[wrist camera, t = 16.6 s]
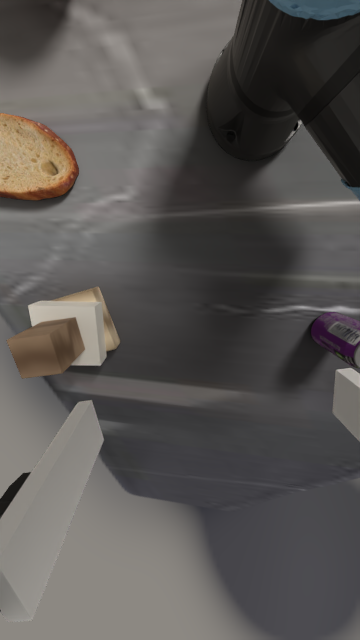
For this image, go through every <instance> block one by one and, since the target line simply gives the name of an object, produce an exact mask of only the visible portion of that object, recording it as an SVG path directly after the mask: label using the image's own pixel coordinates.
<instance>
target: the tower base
mask: <svg viewBox="0 0 360 640" xmlns="http://www.w3.org/2000/svg"><path fill="white" fill-rule="evenodd" d="M51 301H77V302H102V311H103V322H104V333H105V344H106V351H110V350H113V349H116V348H117V347H118V345H119V343H120V339H119V337H118V334H117V332H116V329H115V327H114V324H113V322H112V319H111V317H110V314H109V312H108V309H107V307H106V304H105V302H104V299H103V297H102V294H101V292H100V289H99V287H95V288H92V289H88V290H85V291H82V292H78V293H75V294H72V295H68V296H65V297H62V298H58V299H55V300H51Z"/></svg>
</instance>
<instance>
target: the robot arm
mask: <svg viewBox="0 0 360 640" xmlns="http://www.w3.org/2000/svg"><path fill="white" fill-rule="evenodd" d="M207 117H208V122H209V126H210V129H211V131H212V134H213V136H214V137H215V139H216V141H217V142H218V144H219V145H220V146H221V147H222V148H223V149H224V150H225V151H226V152H227V153H229V154H230V155H232V156H234V157H236V158H239V159H243V160H259V159H263V158H266V157H268V156H271V155H272V154H274V153H276V152H277V151H278V150H280V149H281V148H282V147H283V146H284V145H285V144H286V143H287V142H288V141H289V140H290V139H291V138H292V137H293V136H294V135H295V133H296V132H297V131H298V129H299V127H300V126H301V124H302V123H303V124H304V126H305V128H306V129H307V131H308V132H309V133H310V135H311V136H312V138H313V139H314V140H315V142H316V143H317V145H318V146H319V147H320V149H321V150H322V152H323V153H324V154H325V156H326V157H327V159H328V160H329V161H330V163H331V164H332V165H333V167H334V168H335V170H336V171H337V172H338V174H339V175H340V177H341V178H342V179H341V181H342V183H343V185H344V186H345V187H347V188H349V189H350V190H351V191H352V192H353V193H354V194H355V196H356V197H357V198H358V199H359V200H360V0H242V4H241V8H240V12H239V16H238V20H237V24H236V29H235V33H234V36H233V37H232V39H231V40H230V41H229V42H228V43H227V45H226V46H225V47H224V49H223V50H222V52H221V53H220V55H219V57H218V59H217V61H216V63H215V65H214V68H213V71H212V74H211V78H210V82H209V87H208V93H207ZM333 414H334V415H335V416H336V417H337V418H338V419H339V420H340V421H341V422H342V423H343V425H344V426H345V427H346V428H347V429H348V430H349V431H350V432H351V433H352V434H353V435H354V436H355V437H356V438H357V439H358V440H359V441H360V374H359V373H358V372H356V371H355V370H353V369H352V368H346V369H338V370H336V375H335V388H334V401H333ZM103 441H104V438H103V435H102V432H101V428H100V425H99V422H98V419H97V415H96V412H95V409H94V406H93V403H92V400H89V401H81V402H78V403H77V404H76V406H75V407H74V409H73V410H72V412H71V413H70V415H69V416H68V418H67V419H66V421H65V423H64V424H63V425H62V427H61V428H60V430H59V431H58V433H57V434H56V436H55V438H54V439H53V441H52V442H51V443H50V445H49V446H48V448H47V450H46V451H45V452H44V454H43V456H42V457H41V459H40V460H39V461H38V463H37V465H36V466H35V467H34V469H33V470H32V472H29V473H23V474H22V475H21V476H20V477H19V478H18V479H17V480H16V481H15V482H14V483H12V484H11V485H10V486H9V488H8V489H7V491H6V492H5V493H4V495H3V496H2V498H1V499H0V612H1V613H2V615H3V616H4V617H5V619H6V620H7V622H18V621H30V620H32V619H33V617H34V615H35V612H36V610H37V607H38V605H39V602H40V600H41V597H42V595H43V592H44V589H45V587H46V584H47V582H48V580H49V577H50V575H51V572H52V569H53V567H54V564H55V562H56V559H57V557H58V554H59V551H60V549H61V547H62V544H63V542H64V539H65V537H66V534H67V532H68V529H69V527H70V524H71V522H72V519H73V517H74V514H75V511H76V509H77V506H78V503H79V501H80V499H81V496H82V494H83V491H84V489H85V486H86V484H87V481H88V479H89V476H90V474H91V471H92V469H93V466H94V464H95V460H96V459H97V456H98V454H99V451H100V449H101V446H102V443H103Z"/></svg>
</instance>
